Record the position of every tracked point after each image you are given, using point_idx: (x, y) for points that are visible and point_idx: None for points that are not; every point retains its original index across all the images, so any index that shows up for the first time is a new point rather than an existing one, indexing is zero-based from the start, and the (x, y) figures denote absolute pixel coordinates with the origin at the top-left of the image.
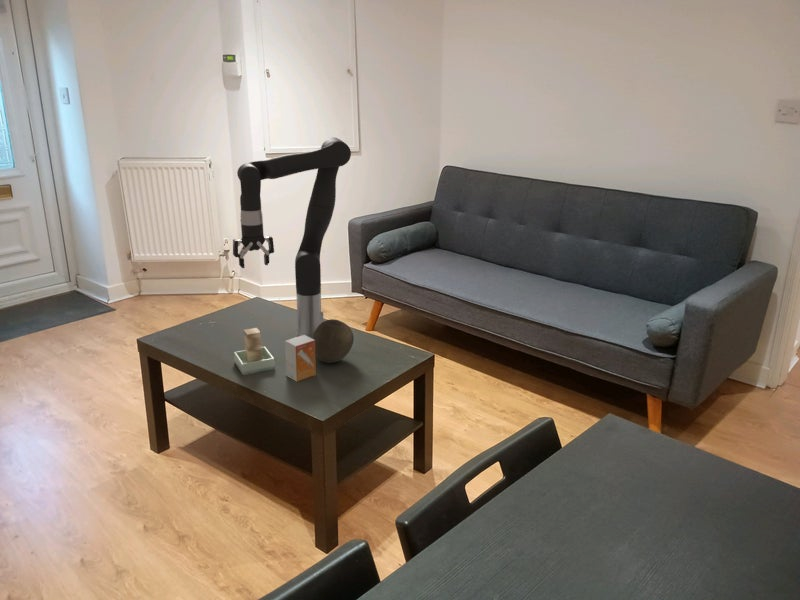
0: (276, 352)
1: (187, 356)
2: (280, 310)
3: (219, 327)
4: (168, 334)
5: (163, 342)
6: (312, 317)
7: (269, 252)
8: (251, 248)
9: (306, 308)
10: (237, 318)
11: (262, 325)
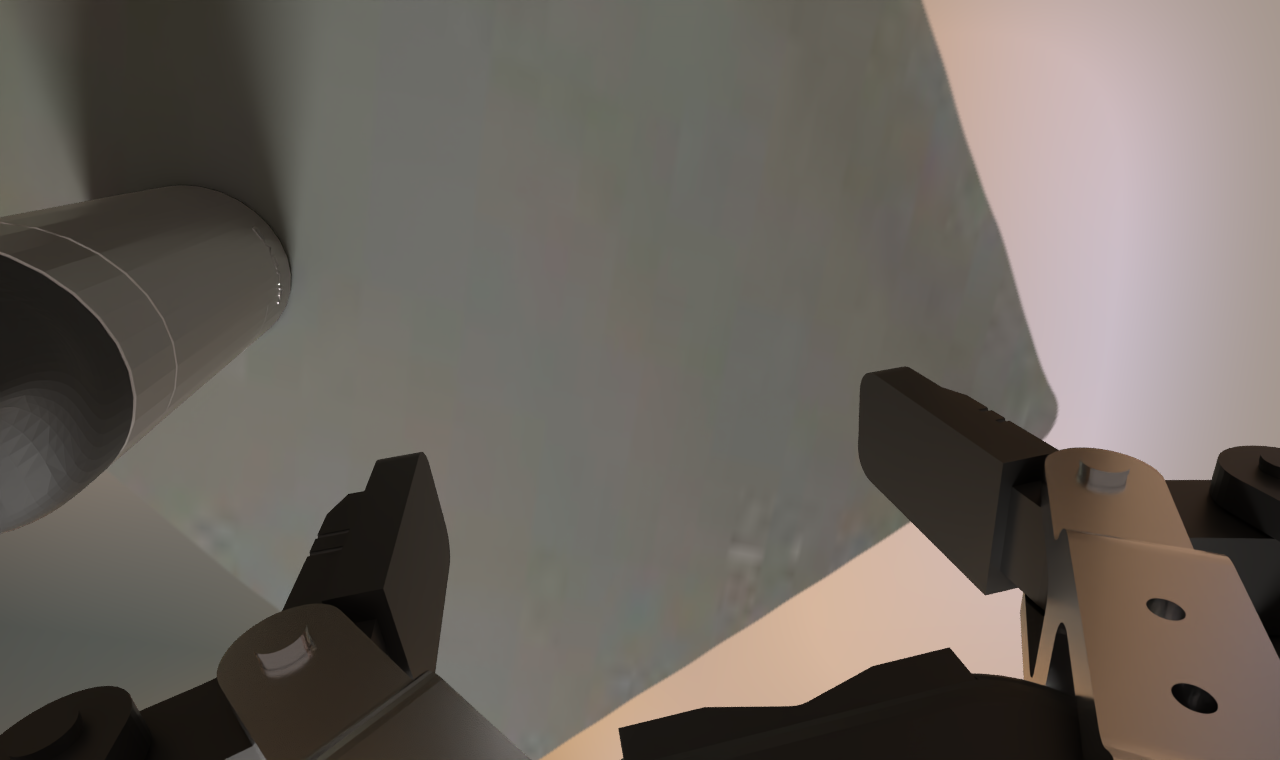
0: (463, 29)
1: (946, 163)
2: None
3: (725, 489)
4: None
5: (995, 374)
6: (85, 203)
7: (211, 716)
8: (961, 738)
9: (91, 227)
10: (622, 579)
11: (504, 469)
